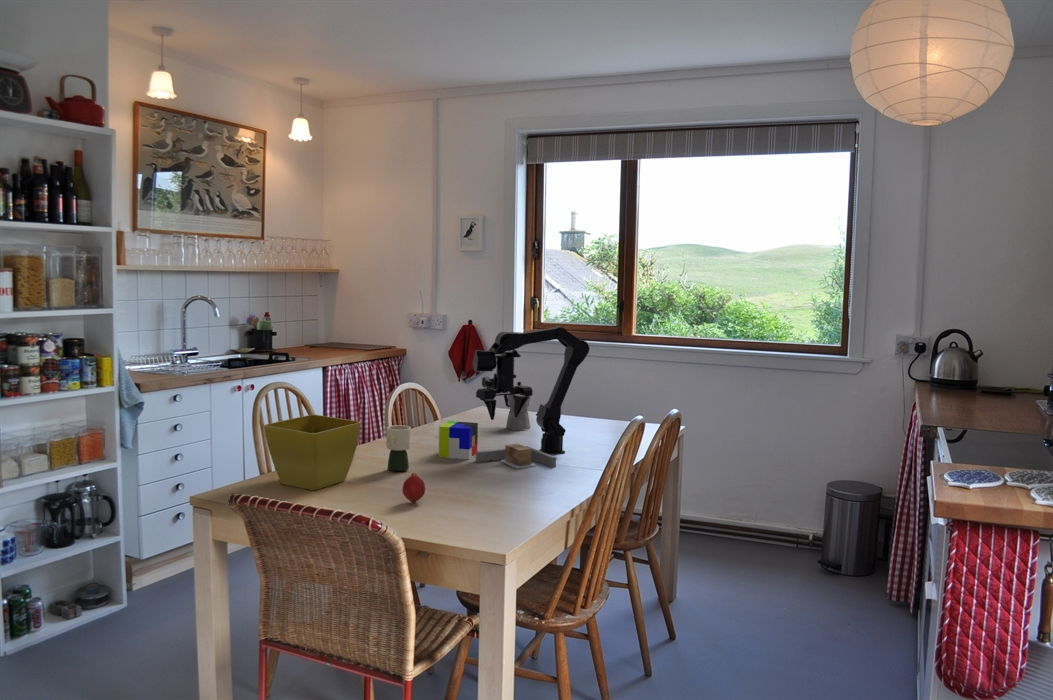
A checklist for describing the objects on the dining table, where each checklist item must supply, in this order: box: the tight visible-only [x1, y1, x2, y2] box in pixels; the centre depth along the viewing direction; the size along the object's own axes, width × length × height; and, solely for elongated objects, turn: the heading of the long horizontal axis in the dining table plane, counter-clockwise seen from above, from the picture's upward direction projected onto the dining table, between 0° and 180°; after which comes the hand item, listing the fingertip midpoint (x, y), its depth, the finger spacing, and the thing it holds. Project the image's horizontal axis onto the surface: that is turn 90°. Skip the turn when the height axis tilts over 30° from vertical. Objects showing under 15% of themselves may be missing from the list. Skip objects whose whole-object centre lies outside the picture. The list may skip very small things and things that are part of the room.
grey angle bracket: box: [475, 445, 557, 468], centre depth 244 cm, size 19×17×3 cm
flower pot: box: [263, 414, 362, 491], centre depth 216 cm, size 19×19×17 cm
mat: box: [499, 459, 537, 469], centre depth 244 cm, size 7×10×1 cm
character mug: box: [385, 424, 412, 473], centre depth 232 cm, size 11×7×13 cm, turn 168°
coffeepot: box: [503, 381, 531, 431], centre depth 299 cm, size 15×9×18 cm, turn 44°
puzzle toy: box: [438, 420, 479, 460], centre depth 253 cm, size 10×10×10 cm
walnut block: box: [504, 443, 532, 466], centre depth 244 cm, size 8×4×5 cm, turn 35°
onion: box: [402, 472, 426, 504], centre depth 200 cm, size 6×6×8 cm
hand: (504, 418), depth 254 cm, fingers open, 9 cm apart
